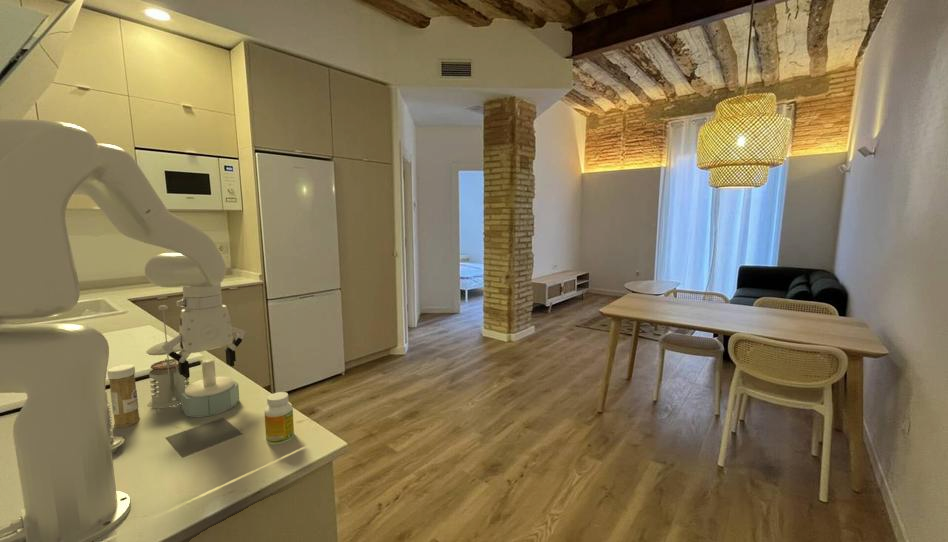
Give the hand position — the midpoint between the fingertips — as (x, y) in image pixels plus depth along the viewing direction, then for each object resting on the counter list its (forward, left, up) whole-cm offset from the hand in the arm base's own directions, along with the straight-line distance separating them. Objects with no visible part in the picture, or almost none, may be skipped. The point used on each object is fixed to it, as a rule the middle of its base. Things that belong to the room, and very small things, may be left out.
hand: (209, 370), depth 96 cm
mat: (-6, -14, -10) cm, 18 cm away
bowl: (0, 0, -10) cm, 10 cm away
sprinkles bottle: (-15, +6, -10) cm, 19 cm away
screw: (-20, -6, -10) cm, 23 cm away
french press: (-5, +12, -10) cm, 16 cm away
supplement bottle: (+4, -27, -10) cm, 29 cm away
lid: (0, 0, -5) cm, 5 cm away
